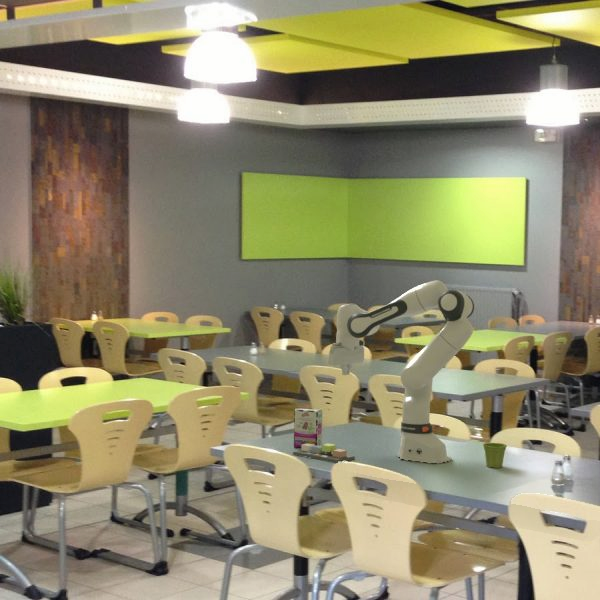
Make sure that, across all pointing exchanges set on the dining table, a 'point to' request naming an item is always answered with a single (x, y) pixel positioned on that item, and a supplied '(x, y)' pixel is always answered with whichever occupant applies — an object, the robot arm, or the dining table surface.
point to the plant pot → (494, 454)
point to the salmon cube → (339, 453)
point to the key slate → (317, 449)
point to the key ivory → (307, 447)
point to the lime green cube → (328, 448)
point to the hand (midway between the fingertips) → (345, 374)
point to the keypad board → (323, 456)
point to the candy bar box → (307, 427)
